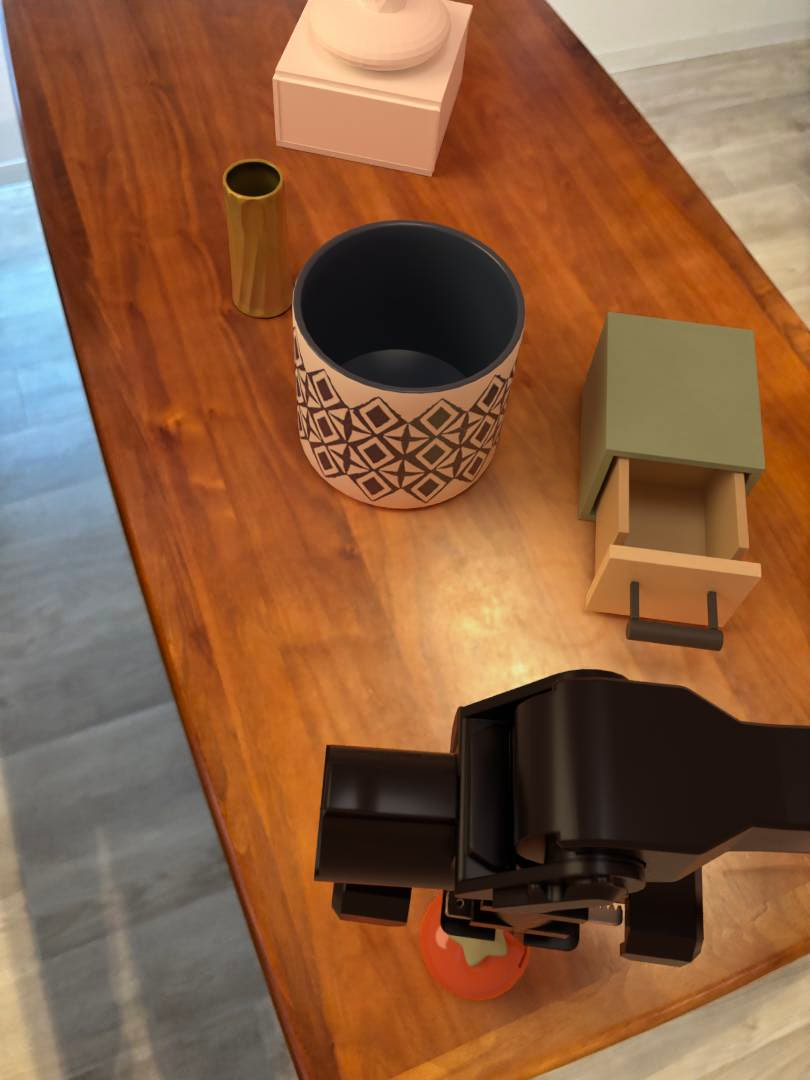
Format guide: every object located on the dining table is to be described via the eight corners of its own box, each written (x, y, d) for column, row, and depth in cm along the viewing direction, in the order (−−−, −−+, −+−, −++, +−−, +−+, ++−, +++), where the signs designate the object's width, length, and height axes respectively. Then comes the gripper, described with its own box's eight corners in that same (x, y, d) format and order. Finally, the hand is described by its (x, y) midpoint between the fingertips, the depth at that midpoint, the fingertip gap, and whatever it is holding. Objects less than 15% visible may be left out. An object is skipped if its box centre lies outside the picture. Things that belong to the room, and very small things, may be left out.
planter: (294, 354, 95) (287, 219, 81) (483, 349, 97) (509, 216, 83) (302, 517, 86) (295, 398, 72) (510, 508, 88) (544, 389, 74)
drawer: (725, 682, 80) (766, 635, 72) (583, 663, 80) (609, 615, 72) (715, 491, 89) (750, 432, 82) (588, 475, 89) (611, 414, 82)
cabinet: (721, 537, 88) (765, 469, 79) (578, 519, 88) (606, 448, 79) (713, 406, 95) (754, 329, 86) (582, 389, 95) (607, 311, 86)
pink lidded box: (276, 146, 110) (267, 6, 96) (319, 49, 119) (317, -91, 106) (432, 177, 109) (446, 40, 95) (464, 77, 118) (480, -61, 104)
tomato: (524, 1008, 68) (546, 994, 61) (414, 1006, 68) (423, 992, 61) (519, 893, 72) (538, 868, 65) (415, 891, 71) (423, 865, 64)
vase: (224, 282, 100) (208, 163, 87) (282, 267, 101) (275, 147, 89) (244, 326, 97) (230, 209, 85) (303, 309, 98) (299, 192, 86)
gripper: (737, 706, 50) (650, 795, 63) (365, 654, 50) (357, 755, 63) (749, 943, 44) (651, 986, 58) (329, 884, 44) (329, 941, 58)
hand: (494, 908), depth 59 cm, fingers closed
